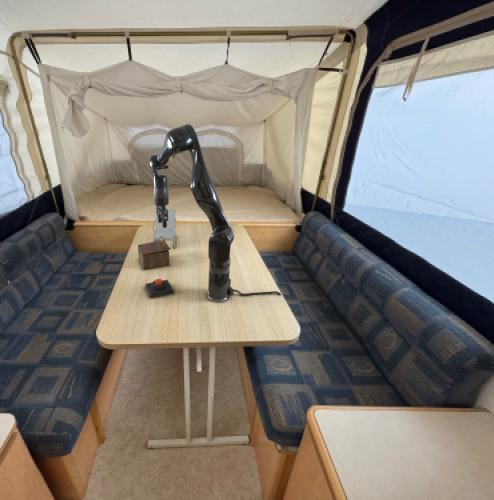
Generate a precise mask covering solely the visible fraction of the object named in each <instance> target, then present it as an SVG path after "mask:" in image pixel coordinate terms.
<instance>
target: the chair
mask: <svg viewBox="0 0 494 500" xmlns="http://www.w3.org/2000/svg"><path fill="white" fill-rule="evenodd" d="M167 209H168V208H167ZM165 219H166V218H165ZM152 227H153V229H152V230H153V234H152V235H153V236H152V239H153V241H152V242H156V241H161V240H160V237H161V236H162V237H163V238H164V239H165V242H167V241H168V242H169V241H170V242H173V248H174V249H176V239H177V217H176V209H173V208H170V209H168V221H167V227H166V228H163V225H162V223H159V222H158V216H157V213H156V212H155V219H154V222H153V225H152Z"/></svg>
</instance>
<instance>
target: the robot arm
mask: <svg viewBox="0 0 494 500" xmlns="http://www.w3.org/2000/svg"><path fill="white" fill-rule="evenodd" d="M202 150H203V149H202V147H201V143H200V141H199V137H198V135H197V132H196V130H195V128H194V126H193V125H192V124H190V123H186V124H182V125H180V126H177V127H174V128H171V129H169V130H168V132H167V133H166V134H165V137H164V140H163V144H162V147H161V148H160V150H159V151H158V153H156V154H152V155H150V157H149V159H148V164H149V167H150V170H151V173H152V179H153V201H154V202H153V204H154V205H155V214H156V213H157V216H158V222H159V223H162V225H163V228H166V227H167V221H168V208H166V206H168V205H169V204H170V200H169V199H170V198H169V196H170V195H169V182H168V181H169V180H168V178H169V177H168V175H167V174H163V173H159V171H165V170H169V169H170V168H171V165H172V162H173V161H174V160H175V158H176V155H177V156H178V155H181V154H184V153H187V152H189V154H190V157H191V163H192V164H191V165H192V168H191V174H190V181H189V186H190V187H189V188H190V191H191V193H192V196H193V199H194V201H195V203H196V204H197V206H198V207H199V209H200V210H201V212H203V213H204V214H205V216H206V217H207V219H208V221H209V223H210V226H211V230H212V232H211V234H210V236H209V238H208V247H207V248H208V251H207V252H208V253H207V254H208V255H207V256H208V260H209V261H208V262H209V263H208V279H207V280H208V281H207V288H206V292H207V298H208V299H209V300H211V301H213V302H219V303H220V302H224V301H226V300H227V299H228V298H230V297H232V296H234V294H235V293H238V294H239V295H240V296H244V297H247V296H252V295H272V294H277V295H279V296H281V295H282V293H281V292H279V291H276V290H273V291H272V290H271V291H258V292H249V293H243V292H241V291H240V290H238V289H234V288H233V287H232V286H231V284H232V279H231V277H230V272H231V262H232V258H231V245H232V244H233V242H234V241H235V232H234V230H233V228H232V226H231V224H230V222H229V221H228V218H227V216H226V215H225V212H224V210H223V206H222V204H221V201H220V198H219V195H218V192H217V189H216V187H215V184H214V181H213V179H212V177H211V174H210V172H209V169H208V166H207V164H206V161H205V158H204V154H203V151H202ZM165 218H166V219H165ZM234 292H235V293H234Z"/></svg>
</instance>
